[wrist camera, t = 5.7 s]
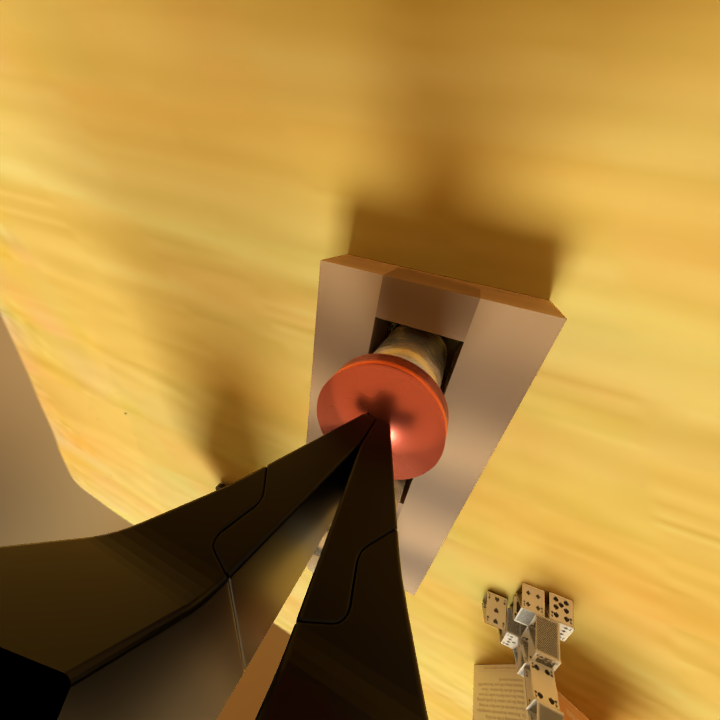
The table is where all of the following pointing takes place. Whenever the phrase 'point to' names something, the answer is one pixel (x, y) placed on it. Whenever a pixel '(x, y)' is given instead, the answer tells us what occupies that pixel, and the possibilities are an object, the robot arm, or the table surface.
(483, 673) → the small box
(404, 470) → the red plug
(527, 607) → the house of cards
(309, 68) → the table surface
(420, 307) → the socket board
